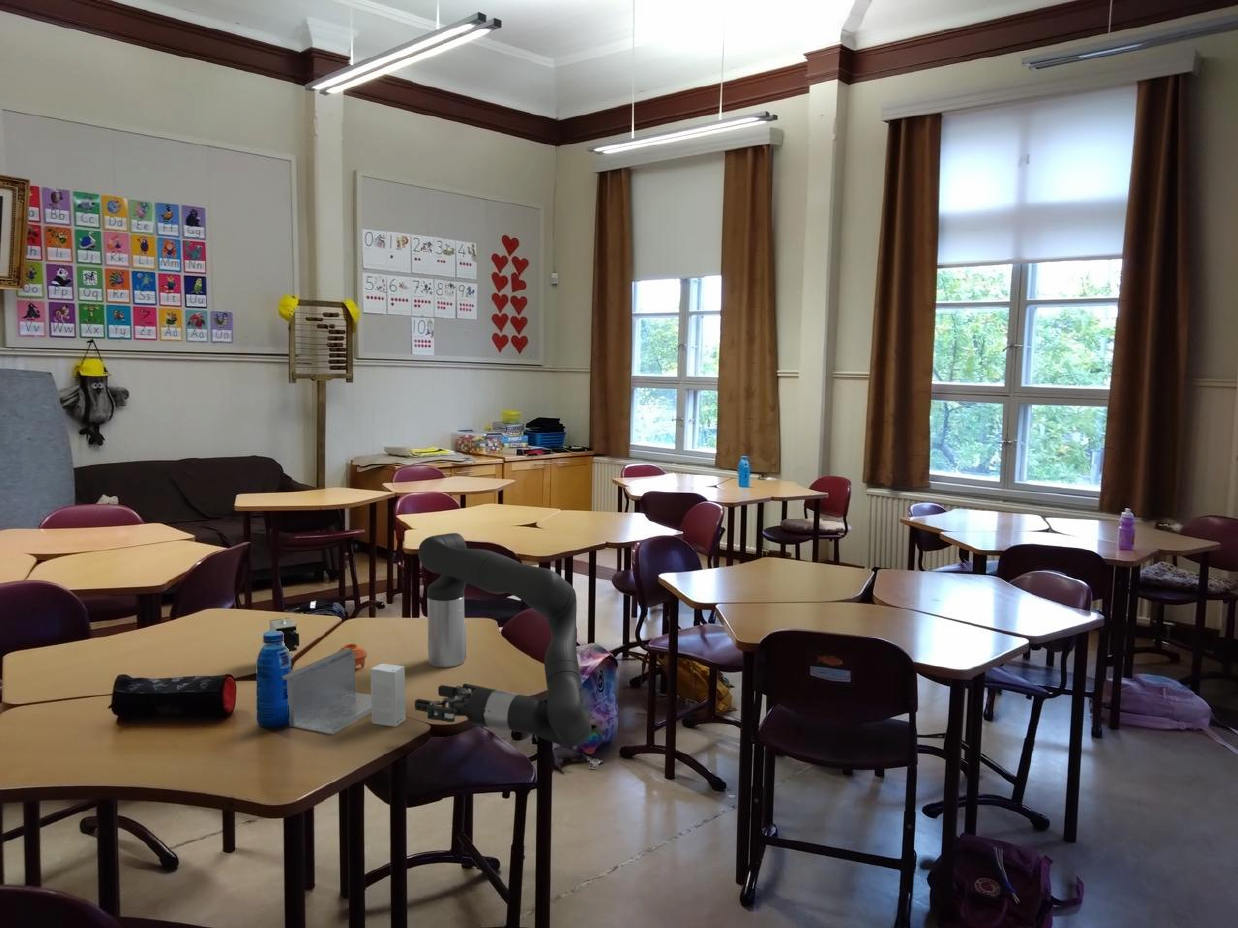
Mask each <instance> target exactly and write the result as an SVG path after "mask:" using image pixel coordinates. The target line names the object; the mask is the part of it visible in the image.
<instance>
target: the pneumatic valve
mask: <svg viewBox="0 0 1238 928" xmlns="http://www.w3.org/2000/svg"><path fill="white" fill-rule="evenodd" d="M297 626H298V623H297V622H296V621H292V620H291V618H289V617H285V618H279V619H278V618H276V619H271V620H269V632H270V631H282V632H283V633H284V643H285V646H286V647H287V648H288V649H289V652H290V654H291V657H293V653H292V652H296V651H298V647H300V634H299V632H298V631H297Z"/></svg>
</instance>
